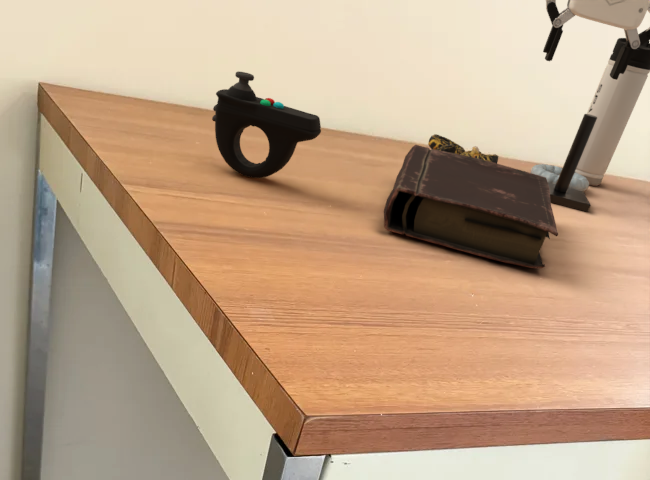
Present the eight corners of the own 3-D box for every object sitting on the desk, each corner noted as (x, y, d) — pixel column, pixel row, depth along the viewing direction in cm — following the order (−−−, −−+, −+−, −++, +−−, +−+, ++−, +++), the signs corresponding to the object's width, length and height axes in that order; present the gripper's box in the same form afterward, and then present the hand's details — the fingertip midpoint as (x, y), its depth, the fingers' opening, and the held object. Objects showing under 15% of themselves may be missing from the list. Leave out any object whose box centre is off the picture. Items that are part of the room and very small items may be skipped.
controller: (213, 159, 98) (228, 65, 92) (310, 189, 96) (332, 95, 90) (199, 165, 95) (214, 68, 89) (300, 196, 93) (322, 99, 87)
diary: (377, 230, 88) (391, 182, 85) (397, 180, 108) (409, 139, 105) (548, 278, 87) (568, 230, 84) (536, 218, 107) (553, 178, 104)
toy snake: (439, 113, 126) (500, 136, 126) (426, 144, 129) (487, 166, 128) (431, 138, 112) (500, 163, 112) (417, 172, 115) (485, 197, 115)
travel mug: (603, 183, 135) (665, 44, 123) (595, 188, 130) (657, 44, 118) (567, 171, 137) (624, 33, 125) (557, 175, 132) (615, 33, 120)
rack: (580, 198, 122) (615, 118, 116) (587, 212, 116) (624, 128, 109) (528, 184, 123) (559, 103, 116) (532, 197, 116) (565, 112, 110)
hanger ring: (581, 185, 130) (586, 173, 129) (588, 198, 123) (594, 185, 122) (527, 170, 131) (531, 158, 130) (531, 183, 124) (536, 170, 123)
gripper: (578, -95, 105) (523, 55, 116) (711, -60, 105) (643, 88, 115) (572, -93, 111) (520, 50, 122) (697, -59, 111) (634, 82, 121)
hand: (580, 69), depth 118 cm, fingers open, 9 cm apart
